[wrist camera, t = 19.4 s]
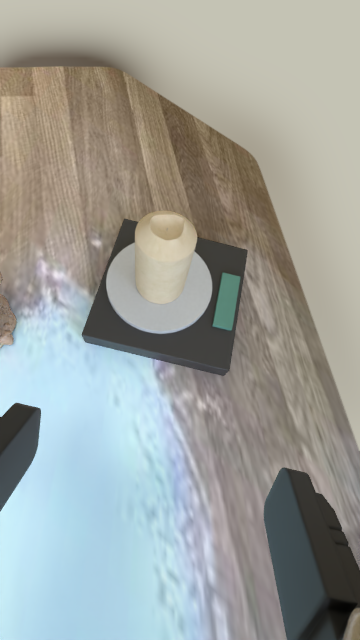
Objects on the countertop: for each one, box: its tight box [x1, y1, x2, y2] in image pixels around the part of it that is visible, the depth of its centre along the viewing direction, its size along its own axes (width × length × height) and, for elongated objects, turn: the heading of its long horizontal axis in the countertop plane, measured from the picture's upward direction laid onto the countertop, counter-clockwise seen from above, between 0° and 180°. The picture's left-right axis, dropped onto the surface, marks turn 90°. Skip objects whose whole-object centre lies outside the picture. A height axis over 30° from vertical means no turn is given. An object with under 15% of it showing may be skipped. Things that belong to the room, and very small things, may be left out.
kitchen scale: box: [82, 219, 247, 376], centre depth 38 cm, size 16×16×3 cm
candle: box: [135, 211, 197, 304], centre depth 31 cm, size 6×6×10 cm
